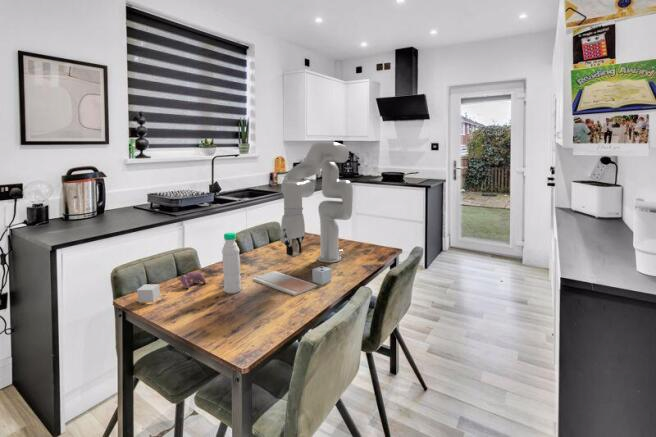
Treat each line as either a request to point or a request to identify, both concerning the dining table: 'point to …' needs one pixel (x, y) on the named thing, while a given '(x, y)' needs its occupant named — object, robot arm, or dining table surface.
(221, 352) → the dining table surface
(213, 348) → the dining table surface
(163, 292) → the dining table surface
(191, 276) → the video game controller
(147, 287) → the light grey cube
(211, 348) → the dining table surface
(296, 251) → the pawn
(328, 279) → the die
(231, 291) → the water bottle
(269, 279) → the board
